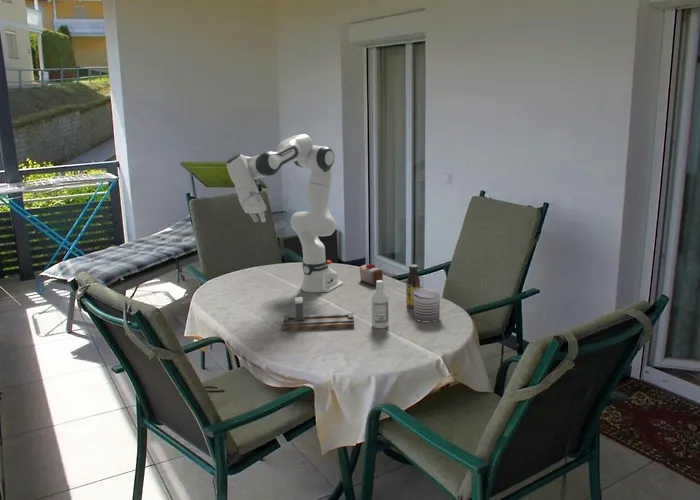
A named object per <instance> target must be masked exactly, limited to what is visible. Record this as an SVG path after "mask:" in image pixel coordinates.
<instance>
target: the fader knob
mask: <svg viewBox="0 0 700 500" xmlns="http://www.w3.org/2000/svg"><path fill="white" fill-rule="evenodd" d="M303 298H304V297H303V296H296V297H294V304H295V307H294V308H295V315H294V316H295V322H298V321H305V318H304V316H303V315H304V303H303V301H304V299H303Z"/></svg>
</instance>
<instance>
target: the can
mask: <svg viewBox="0 0 700 500" xmlns="http://www.w3.org/2000/svg"><path fill="white" fill-rule="evenodd" d="M440 296H441V295H440V291H438V290H435V289H432V288H423V287H420V289H416V290H414V308H413V319H414V320H415V319H417V320H420V321H434V320H437V319H438V318H439V319H440V316H441V315H440V314H441V313H440V312H441V311H440V310H441V308H440V305H441V303H440V300H441V297H440ZM439 319H438V320H439ZM417 320H416V321H417ZM438 320H437V321H438ZM420 321H419V322H420ZM434 322H435V321H434Z"/></svg>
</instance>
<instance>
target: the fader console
mask: <svg viewBox="0 0 700 500" xmlns="http://www.w3.org/2000/svg"><path fill="white" fill-rule="evenodd" d="M295 316H296V315H287V316H286V315H284V316H283V317H282V318H283V319H282V329H283V330H282V332H298V331H317V330H319V331H321V330H320V329H324V330H339V329H338V328H345V329H355V320H354V313H353V312H352V313H351V312H350V313H332V314H331V313H330V314H329V313H327V314H305V315H304V314H303V316H304V318H305V321H298V322H295Z"/></svg>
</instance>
